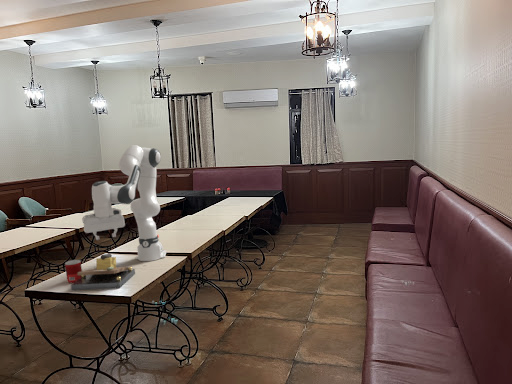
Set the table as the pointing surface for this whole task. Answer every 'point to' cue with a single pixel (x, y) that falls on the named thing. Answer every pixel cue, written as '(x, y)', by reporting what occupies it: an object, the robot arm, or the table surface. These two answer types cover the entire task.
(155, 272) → the table surface
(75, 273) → the canned food
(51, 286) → the table surface
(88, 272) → the level plate
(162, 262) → the table surface
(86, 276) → the grey tray
